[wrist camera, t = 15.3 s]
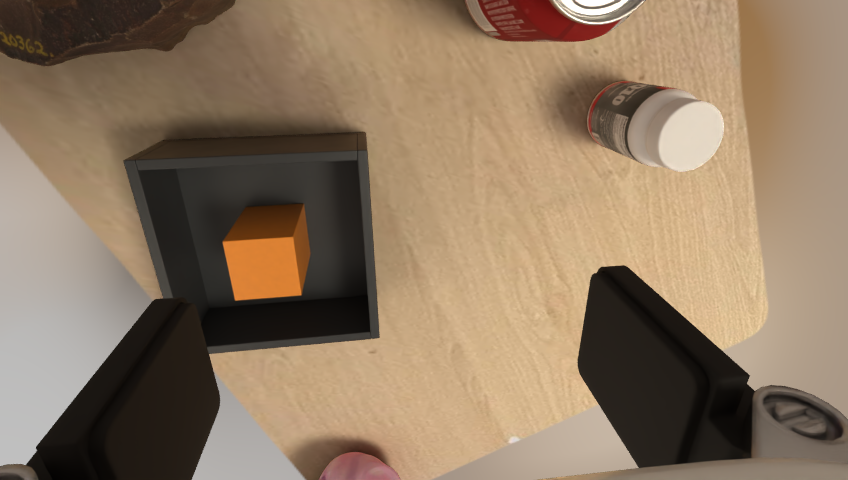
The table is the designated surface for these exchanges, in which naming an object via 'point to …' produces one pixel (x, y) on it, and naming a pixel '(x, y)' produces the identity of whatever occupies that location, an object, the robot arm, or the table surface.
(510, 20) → the soda can
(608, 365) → the robot arm
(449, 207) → the table surface
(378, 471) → the cupcake
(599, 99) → the pill bottle
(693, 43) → the table surface
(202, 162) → the bin
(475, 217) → the table surface
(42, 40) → the stone tool
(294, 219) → the orange block
